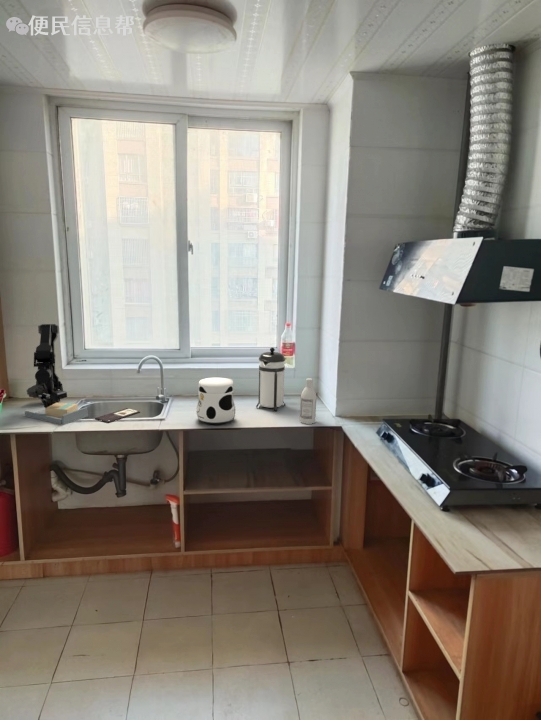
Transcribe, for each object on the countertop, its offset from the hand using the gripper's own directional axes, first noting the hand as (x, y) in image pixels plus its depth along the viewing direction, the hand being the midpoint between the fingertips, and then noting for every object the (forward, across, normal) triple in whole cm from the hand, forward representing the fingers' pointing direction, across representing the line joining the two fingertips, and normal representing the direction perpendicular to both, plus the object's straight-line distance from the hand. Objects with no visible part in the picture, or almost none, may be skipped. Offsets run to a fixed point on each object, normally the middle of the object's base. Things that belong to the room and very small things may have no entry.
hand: (48, 411), depth 207 cm
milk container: (+3, +67, +33) cm, 75 cm away
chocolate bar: (+3, +25, +16) cm, 30 cm away
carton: (+1, +7, +1) cm, 8 cm away
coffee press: (+2, +80, +64) cm, 102 cm away
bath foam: (+2, +104, +51) cm, 116 cm away
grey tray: (+3, +5, 0) cm, 6 cm away
